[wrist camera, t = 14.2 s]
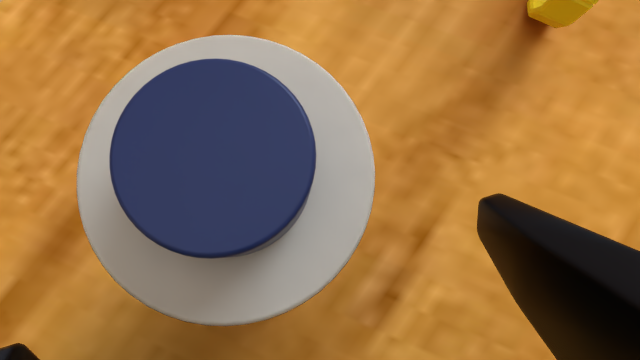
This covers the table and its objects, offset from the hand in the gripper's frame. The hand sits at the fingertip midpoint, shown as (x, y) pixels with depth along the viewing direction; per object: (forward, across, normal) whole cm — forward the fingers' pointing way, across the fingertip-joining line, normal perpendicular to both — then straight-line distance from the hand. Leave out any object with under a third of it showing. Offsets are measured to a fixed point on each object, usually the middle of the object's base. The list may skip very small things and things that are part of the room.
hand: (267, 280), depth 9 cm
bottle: (+8, 0, +5) cm, 9 cm away
